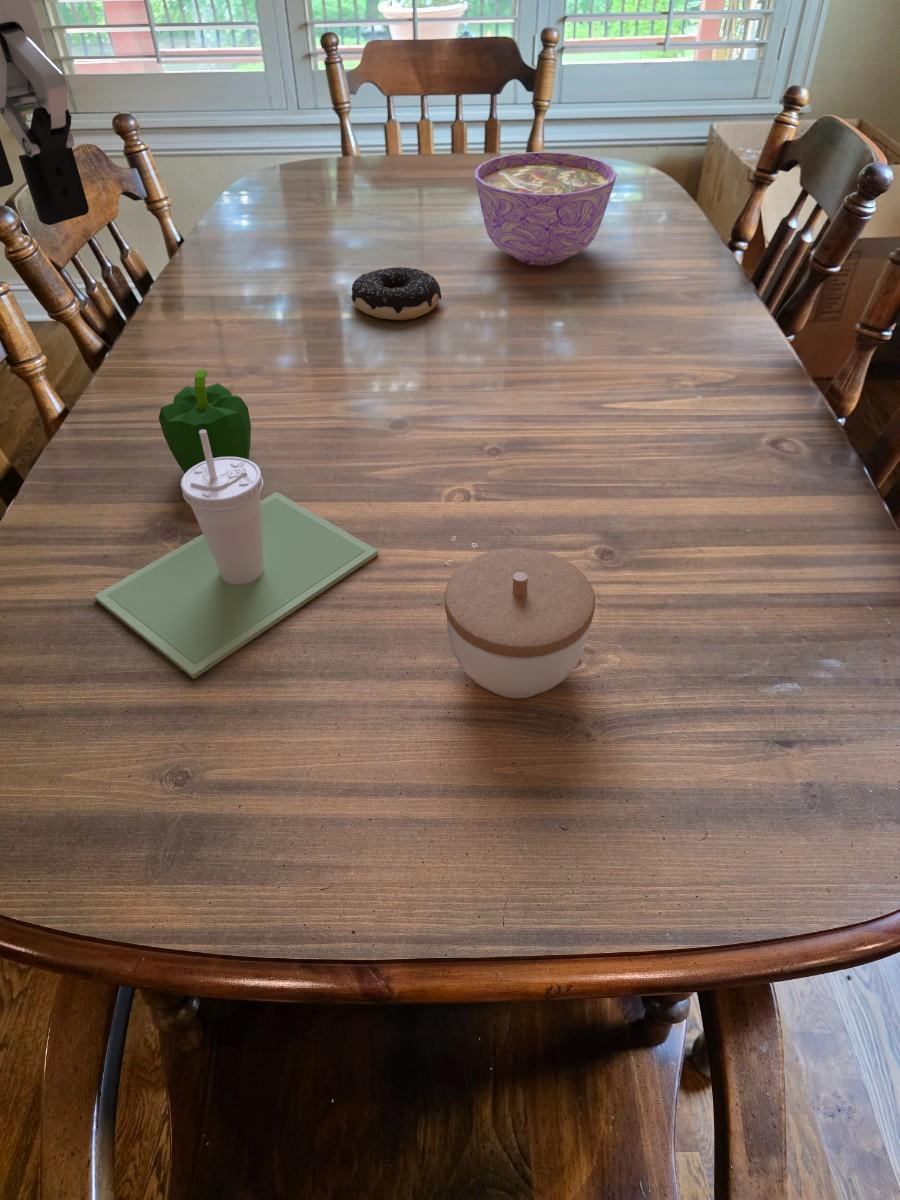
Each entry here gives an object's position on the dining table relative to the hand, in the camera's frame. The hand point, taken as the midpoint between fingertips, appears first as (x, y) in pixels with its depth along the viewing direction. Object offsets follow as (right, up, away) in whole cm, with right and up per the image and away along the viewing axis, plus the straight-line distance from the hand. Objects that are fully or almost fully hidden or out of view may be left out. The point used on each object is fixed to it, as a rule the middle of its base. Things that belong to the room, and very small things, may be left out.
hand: (27, 202), depth 58 cm
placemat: (+10, -24, +18) cm, 32 cm away
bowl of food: (+42, +25, +72) cm, 87 cm away
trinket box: (+33, -32, +9) cm, 47 cm away
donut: (+21, +13, +59) cm, 64 cm away
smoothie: (+10, -24, +18) cm, 32 cm away
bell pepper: (+5, -13, +31) cm, 34 cm away
